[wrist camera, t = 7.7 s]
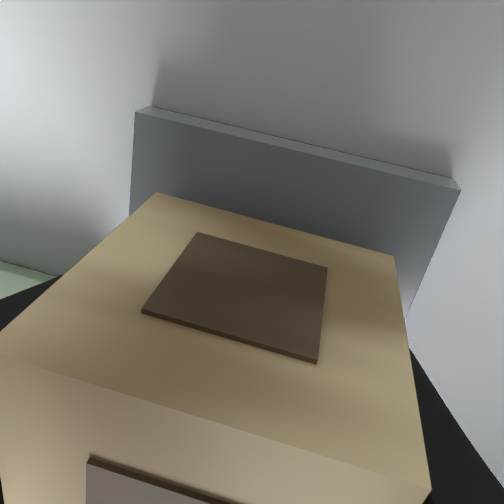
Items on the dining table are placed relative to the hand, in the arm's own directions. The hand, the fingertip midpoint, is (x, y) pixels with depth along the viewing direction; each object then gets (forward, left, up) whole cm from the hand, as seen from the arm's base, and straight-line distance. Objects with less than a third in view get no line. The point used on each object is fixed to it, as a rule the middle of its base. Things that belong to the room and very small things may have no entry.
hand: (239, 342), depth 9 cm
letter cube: (0, 0, -1) cm, 1 cm away
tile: (0, 0, -3) cm, 3 cm away
